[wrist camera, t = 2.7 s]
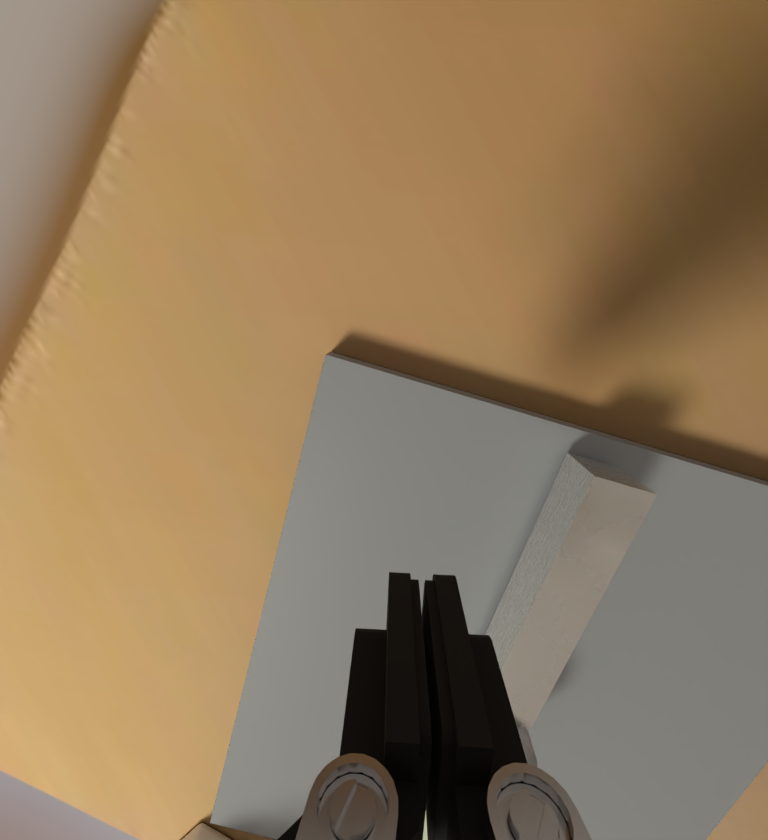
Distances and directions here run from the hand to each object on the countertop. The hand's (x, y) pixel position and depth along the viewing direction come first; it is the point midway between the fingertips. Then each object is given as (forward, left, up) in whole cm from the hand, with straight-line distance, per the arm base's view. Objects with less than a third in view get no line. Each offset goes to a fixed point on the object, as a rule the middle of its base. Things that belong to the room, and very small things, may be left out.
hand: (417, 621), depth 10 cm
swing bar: (-7, +4, -8) cm, 11 cm away
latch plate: (-9, +10, -9) cm, 16 cm away
